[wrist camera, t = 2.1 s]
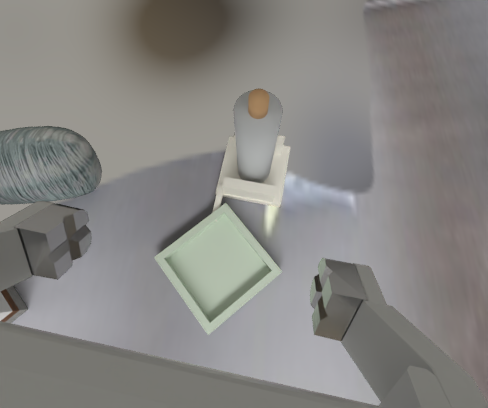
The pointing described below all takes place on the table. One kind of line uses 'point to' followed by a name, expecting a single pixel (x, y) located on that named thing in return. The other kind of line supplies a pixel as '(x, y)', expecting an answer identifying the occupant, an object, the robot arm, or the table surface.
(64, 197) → the grey furry rounded block
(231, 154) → the white toy chair
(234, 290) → the tray
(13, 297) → the notched white block
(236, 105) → the gray bottle
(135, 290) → the table surface
